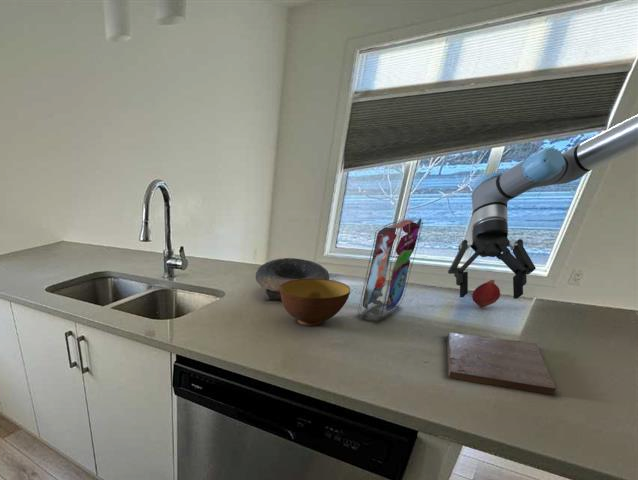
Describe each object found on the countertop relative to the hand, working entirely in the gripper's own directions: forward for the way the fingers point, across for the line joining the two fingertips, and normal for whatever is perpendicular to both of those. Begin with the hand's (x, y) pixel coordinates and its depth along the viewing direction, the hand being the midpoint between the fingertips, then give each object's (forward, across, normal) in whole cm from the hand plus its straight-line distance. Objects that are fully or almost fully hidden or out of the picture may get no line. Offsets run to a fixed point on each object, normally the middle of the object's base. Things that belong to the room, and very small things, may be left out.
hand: (490, 295), depth 110 cm
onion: (+1, 0, -5) cm, 5 cm away
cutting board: (+27, +9, +21) cm, 35 cm away
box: (+4, +24, -2) cm, 25 cm away
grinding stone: (-4, +51, -10) cm, 52 cm away
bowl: (+13, +46, +7) cm, 48 cm away
